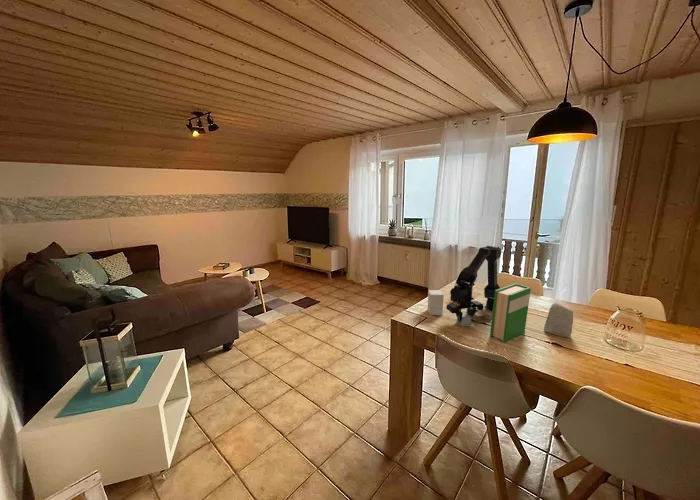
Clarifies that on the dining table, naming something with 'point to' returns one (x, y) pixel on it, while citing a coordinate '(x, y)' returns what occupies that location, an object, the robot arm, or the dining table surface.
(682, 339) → the dining table surface
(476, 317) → the walnut block
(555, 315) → the decorative stone
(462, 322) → the slate cube
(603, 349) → the dining table surface
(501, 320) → the hardback book
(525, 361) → the dining table surface
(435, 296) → the supplement box
